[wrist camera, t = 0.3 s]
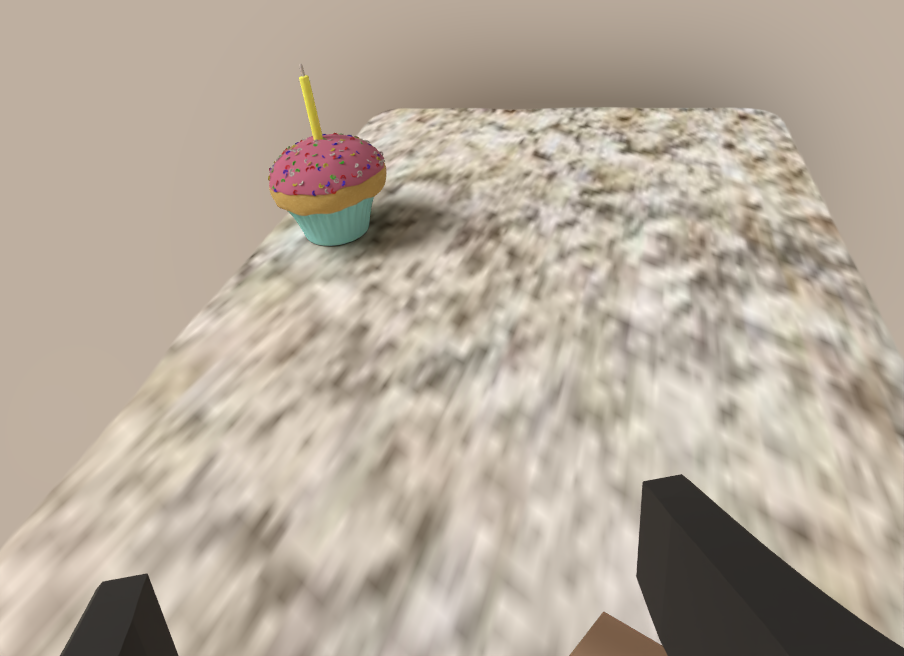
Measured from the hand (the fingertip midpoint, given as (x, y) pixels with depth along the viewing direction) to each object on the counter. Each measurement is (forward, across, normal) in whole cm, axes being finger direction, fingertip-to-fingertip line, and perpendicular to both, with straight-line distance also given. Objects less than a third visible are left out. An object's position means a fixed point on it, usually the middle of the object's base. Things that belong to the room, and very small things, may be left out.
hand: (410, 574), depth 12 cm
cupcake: (+50, 0, +18) cm, 53 cm away
